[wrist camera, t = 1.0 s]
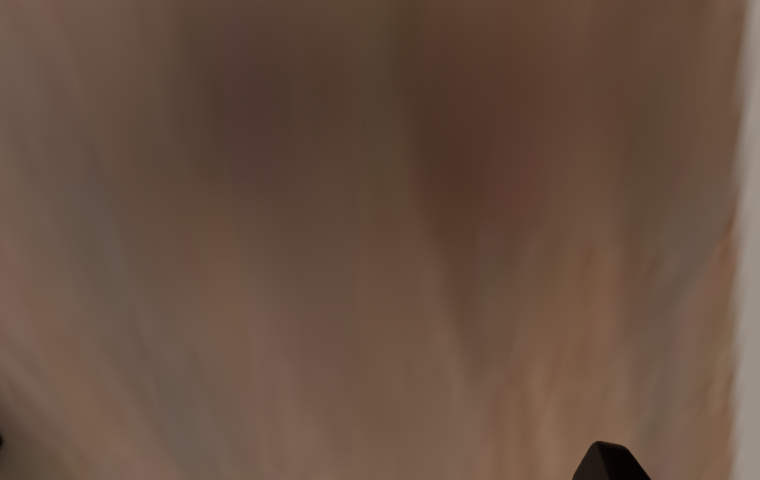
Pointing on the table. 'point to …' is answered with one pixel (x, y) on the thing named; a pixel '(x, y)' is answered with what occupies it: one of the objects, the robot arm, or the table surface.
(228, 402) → the table surface
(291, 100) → the table surface
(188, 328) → the table surface
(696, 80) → the table surface
